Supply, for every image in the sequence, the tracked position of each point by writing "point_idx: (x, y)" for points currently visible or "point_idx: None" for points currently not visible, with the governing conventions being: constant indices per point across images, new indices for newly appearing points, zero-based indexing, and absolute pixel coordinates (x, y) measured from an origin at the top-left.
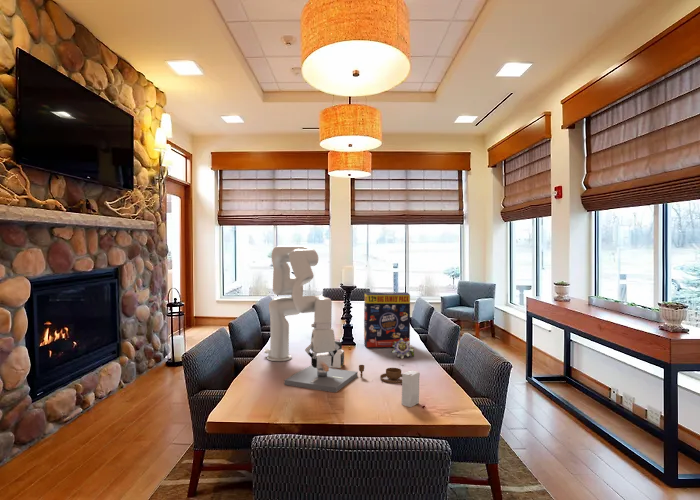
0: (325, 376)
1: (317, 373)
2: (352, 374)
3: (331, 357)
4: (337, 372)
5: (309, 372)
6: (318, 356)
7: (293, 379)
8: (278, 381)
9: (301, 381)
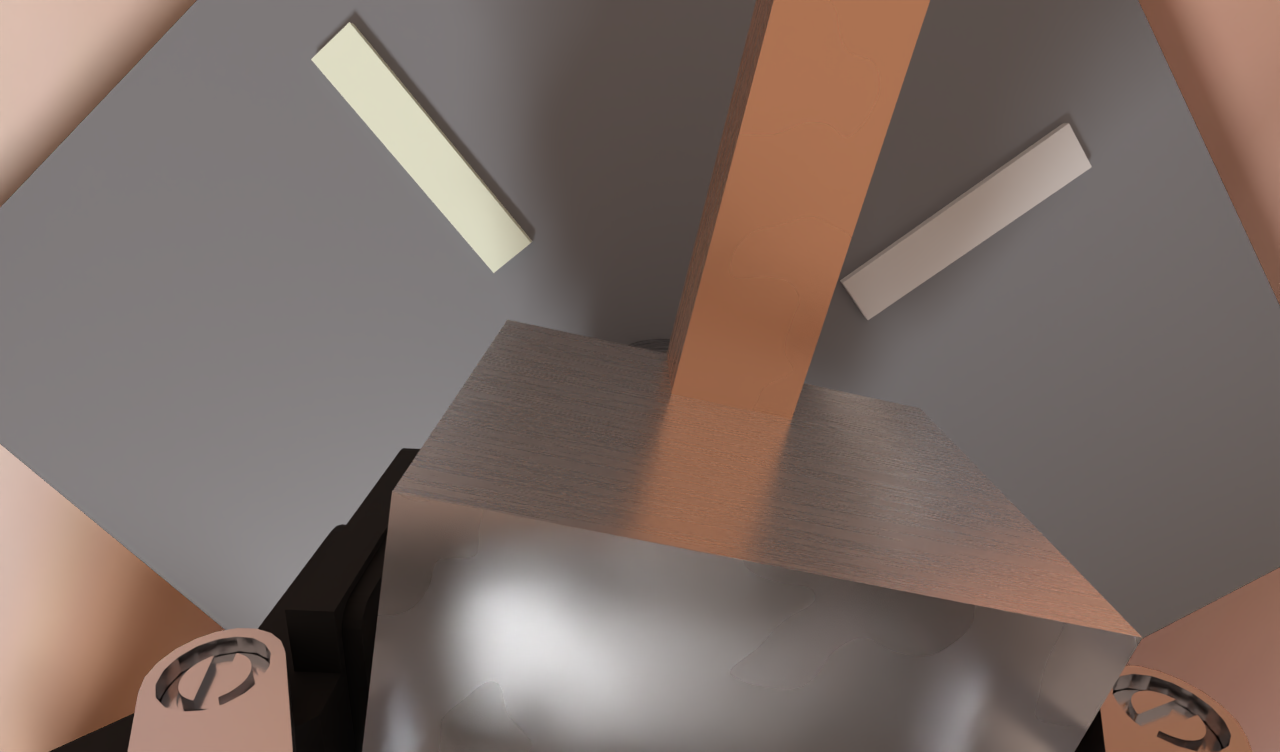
0: (638, 342)
1: None
2: (29, 225)
3: (345, 607)
4: (302, 476)
5: None
6: (1017, 685)
7: (1241, 467)
8: (1264, 634)
9: (1204, 295)
